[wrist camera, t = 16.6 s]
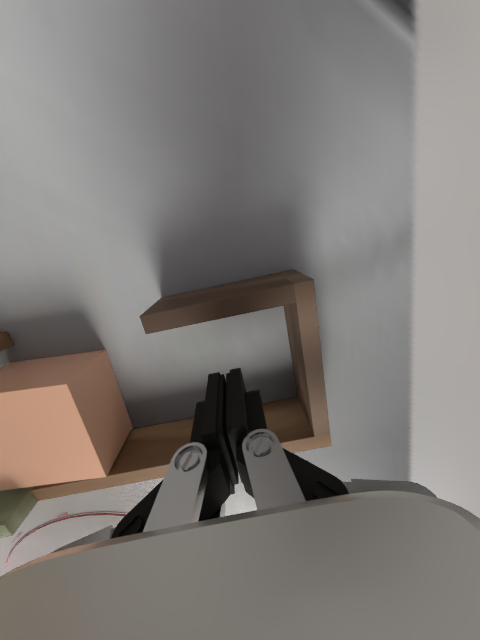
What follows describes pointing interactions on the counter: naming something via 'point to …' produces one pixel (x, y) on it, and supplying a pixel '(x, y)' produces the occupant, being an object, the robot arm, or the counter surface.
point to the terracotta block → (60, 420)
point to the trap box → (165, 439)
